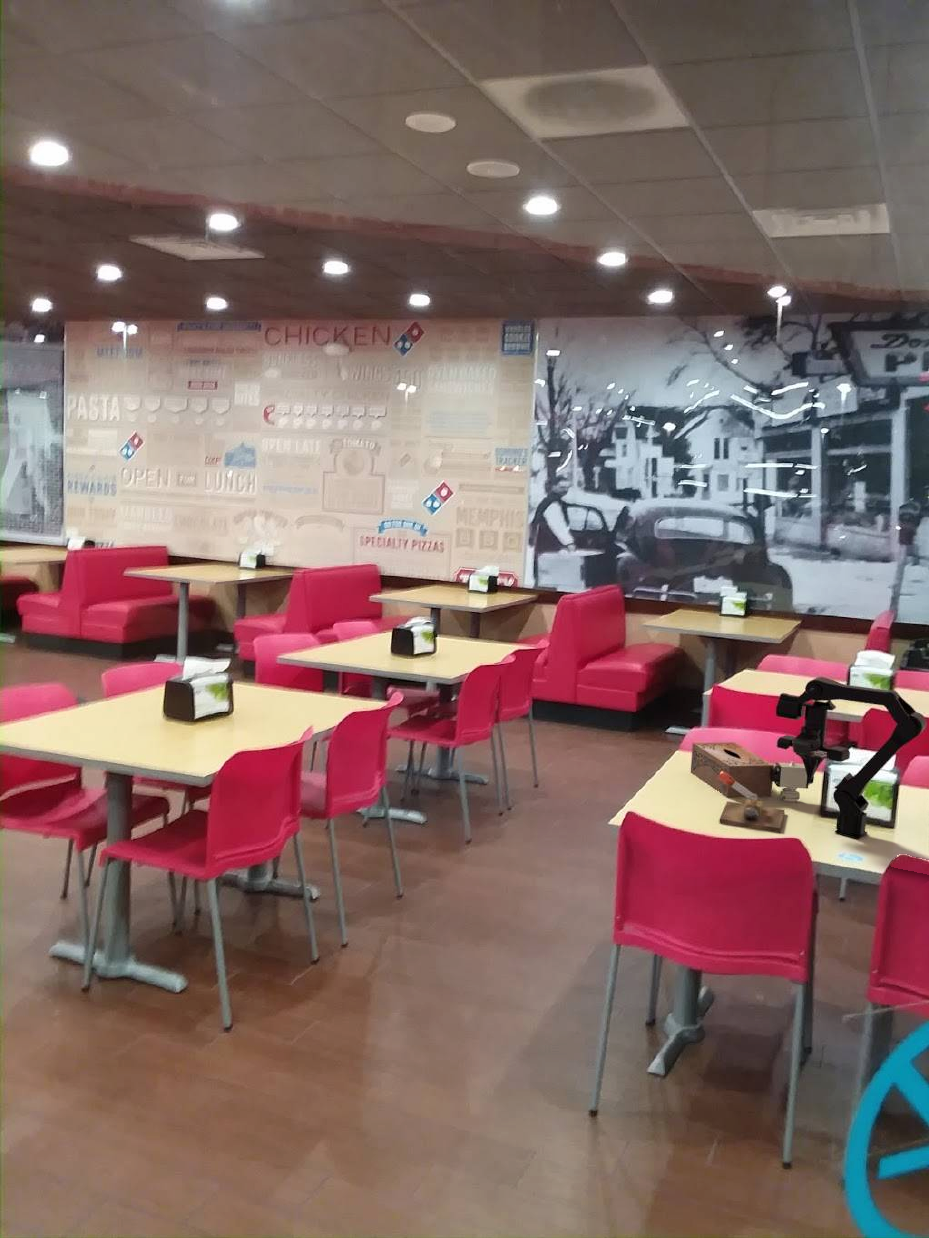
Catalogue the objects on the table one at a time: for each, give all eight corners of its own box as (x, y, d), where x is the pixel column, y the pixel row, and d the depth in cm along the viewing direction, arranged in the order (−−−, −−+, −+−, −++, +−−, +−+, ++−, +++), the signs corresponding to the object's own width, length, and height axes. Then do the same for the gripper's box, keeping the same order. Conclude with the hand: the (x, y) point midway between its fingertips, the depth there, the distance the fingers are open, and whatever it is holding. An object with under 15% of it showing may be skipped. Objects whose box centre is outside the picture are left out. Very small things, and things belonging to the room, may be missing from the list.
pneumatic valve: (811, 804, 302) (815, 764, 300) (771, 801, 303) (774, 762, 301) (806, 798, 308) (810, 759, 306) (766, 796, 308) (770, 757, 307)
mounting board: (784, 813, 292) (784, 809, 292) (779, 832, 277) (780, 828, 277) (726, 805, 298) (727, 801, 298) (719, 822, 282) (719, 818, 282)
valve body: (762, 810, 292) (764, 791, 291) (758, 823, 281) (760, 803, 280) (746, 808, 294) (748, 788, 293) (742, 821, 283) (743, 800, 282)
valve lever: (759, 795, 287) (723, 769, 290) (759, 798, 285) (722, 771, 288) (754, 802, 288) (717, 776, 291) (753, 805, 286) (716, 778, 288)
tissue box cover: (690, 773, 330) (692, 743, 328) (731, 772, 333) (734, 742, 332) (726, 798, 305) (729, 766, 304) (771, 797, 308) (774, 765, 307)
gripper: (769, 720, 281) (764, 775, 284) (835, 735, 269) (829, 792, 271) (788, 715, 289) (783, 768, 292) (853, 728, 277) (847, 784, 279)
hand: (809, 778), depth 283 cm, fingers closed
